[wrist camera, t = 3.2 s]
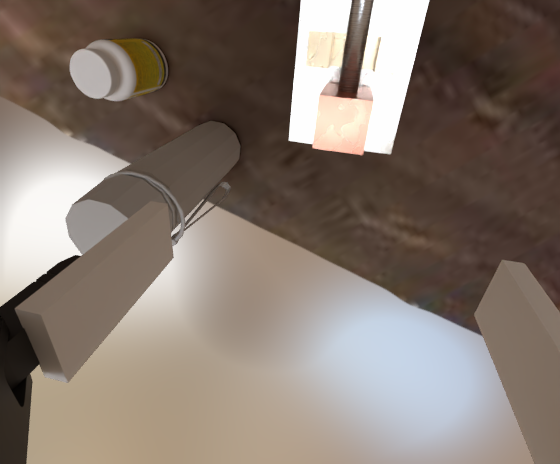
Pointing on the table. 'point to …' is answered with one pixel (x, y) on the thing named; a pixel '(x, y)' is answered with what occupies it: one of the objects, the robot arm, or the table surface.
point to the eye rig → (375, 70)
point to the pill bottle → (119, 68)
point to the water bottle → (158, 184)
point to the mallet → (347, 92)
